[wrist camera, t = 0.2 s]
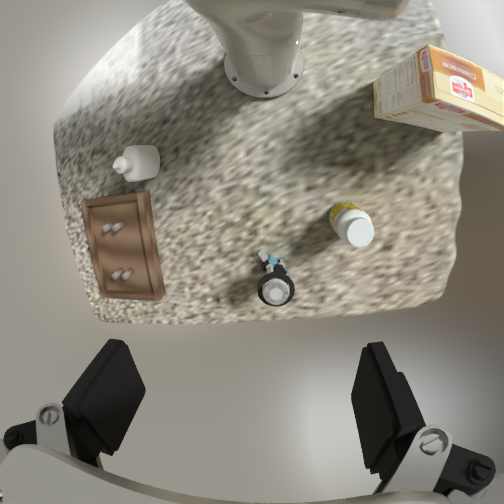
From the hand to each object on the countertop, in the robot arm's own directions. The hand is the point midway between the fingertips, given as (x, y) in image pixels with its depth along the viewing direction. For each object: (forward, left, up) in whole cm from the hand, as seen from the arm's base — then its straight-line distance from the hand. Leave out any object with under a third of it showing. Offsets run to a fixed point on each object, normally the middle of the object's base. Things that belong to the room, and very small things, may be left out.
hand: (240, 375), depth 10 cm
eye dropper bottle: (-9, -19, -36) cm, 42 cm away
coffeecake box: (-18, +26, -36) cm, 48 cm away
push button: (+10, +1, -36) cm, 38 cm away
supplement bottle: (+2, +13, -36) cm, 39 cm away
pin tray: (+6, -27, -36) cm, 46 cm away
